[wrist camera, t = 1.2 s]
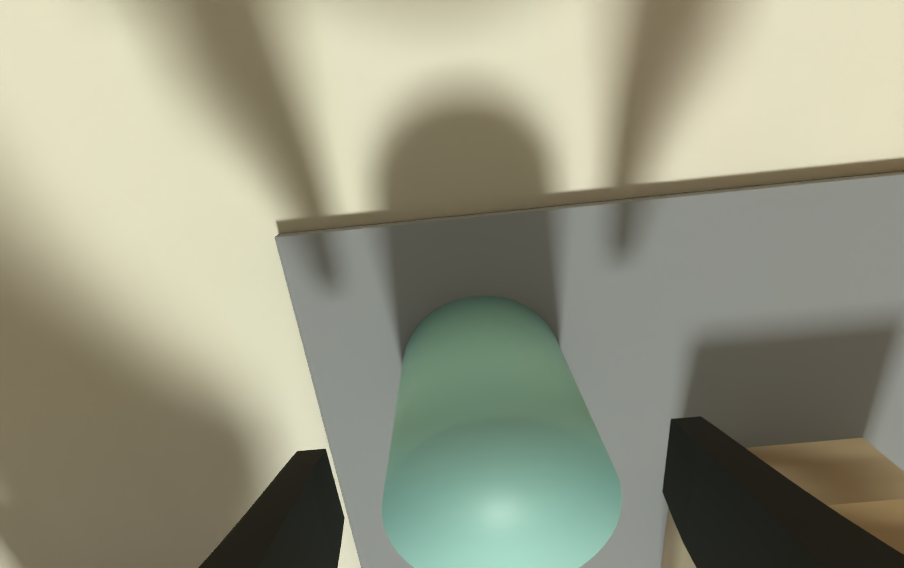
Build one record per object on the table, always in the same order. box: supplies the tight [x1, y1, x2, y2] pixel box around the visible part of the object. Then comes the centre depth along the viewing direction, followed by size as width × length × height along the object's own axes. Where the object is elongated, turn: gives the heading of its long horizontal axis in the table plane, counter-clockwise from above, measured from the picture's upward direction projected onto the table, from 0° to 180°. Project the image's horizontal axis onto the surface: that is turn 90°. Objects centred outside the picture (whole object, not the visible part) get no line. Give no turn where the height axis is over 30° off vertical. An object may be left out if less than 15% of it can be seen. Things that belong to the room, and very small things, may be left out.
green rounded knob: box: [382, 296, 622, 568], centre depth 11 cm, size 5×5×5 cm
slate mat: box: [275, 171, 904, 568], centre depth 15 cm, size 20×16×1 cm
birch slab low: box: [661, 438, 904, 568], centre depth 15 cm, size 6×6×2 cm
